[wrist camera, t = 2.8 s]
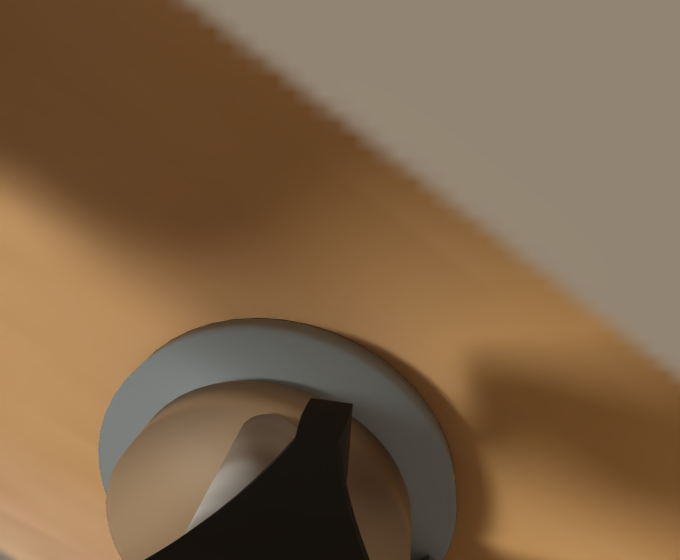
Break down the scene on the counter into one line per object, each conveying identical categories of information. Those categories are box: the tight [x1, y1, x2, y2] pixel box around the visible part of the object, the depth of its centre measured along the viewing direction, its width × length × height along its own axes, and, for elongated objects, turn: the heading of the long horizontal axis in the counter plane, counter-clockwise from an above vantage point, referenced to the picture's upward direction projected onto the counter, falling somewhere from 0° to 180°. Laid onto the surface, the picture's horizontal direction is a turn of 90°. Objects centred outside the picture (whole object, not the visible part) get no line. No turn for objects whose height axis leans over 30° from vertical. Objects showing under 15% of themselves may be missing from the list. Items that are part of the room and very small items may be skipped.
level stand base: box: [99, 318, 457, 560], centre depth 14 cm, size 12×12×6 cm
